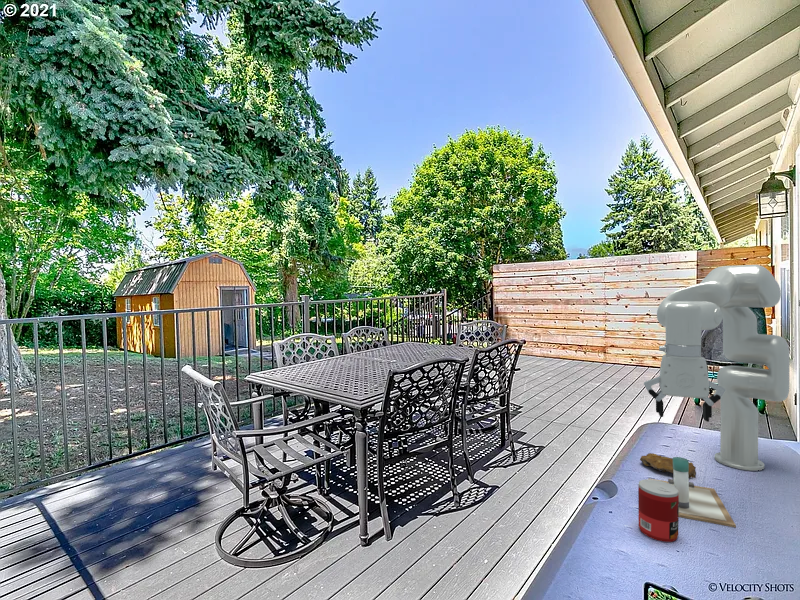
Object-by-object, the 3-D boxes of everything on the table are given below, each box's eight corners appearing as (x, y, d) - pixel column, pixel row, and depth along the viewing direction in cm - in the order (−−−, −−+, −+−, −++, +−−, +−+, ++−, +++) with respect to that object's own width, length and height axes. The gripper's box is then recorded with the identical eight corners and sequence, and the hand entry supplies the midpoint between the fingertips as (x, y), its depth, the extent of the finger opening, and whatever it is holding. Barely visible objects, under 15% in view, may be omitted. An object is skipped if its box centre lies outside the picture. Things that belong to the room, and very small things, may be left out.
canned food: (679, 547, 91) (679, 497, 91) (637, 535, 96) (637, 488, 95) (677, 529, 98) (677, 483, 98) (638, 520, 102) (638, 476, 102)
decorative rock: (638, 473, 130) (696, 486, 122) (638, 460, 130) (697, 473, 121) (640, 458, 139) (694, 470, 131) (640, 446, 139) (695, 457, 131)
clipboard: (648, 480, 123) (648, 475, 123) (714, 490, 117) (714, 485, 116) (657, 512, 105) (657, 507, 105) (735, 527, 98) (735, 521, 98)
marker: (674, 500, 110) (672, 456, 109) (689, 504, 108) (688, 458, 107) (673, 506, 107) (672, 460, 106) (689, 510, 105) (688, 463, 104)
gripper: (645, 351, 106) (645, 417, 106) (729, 355, 98) (729, 426, 99) (642, 347, 113) (642, 410, 113) (720, 350, 105) (720, 417, 106)
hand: (682, 417), depth 106 cm, fingers open, 9 cm apart
